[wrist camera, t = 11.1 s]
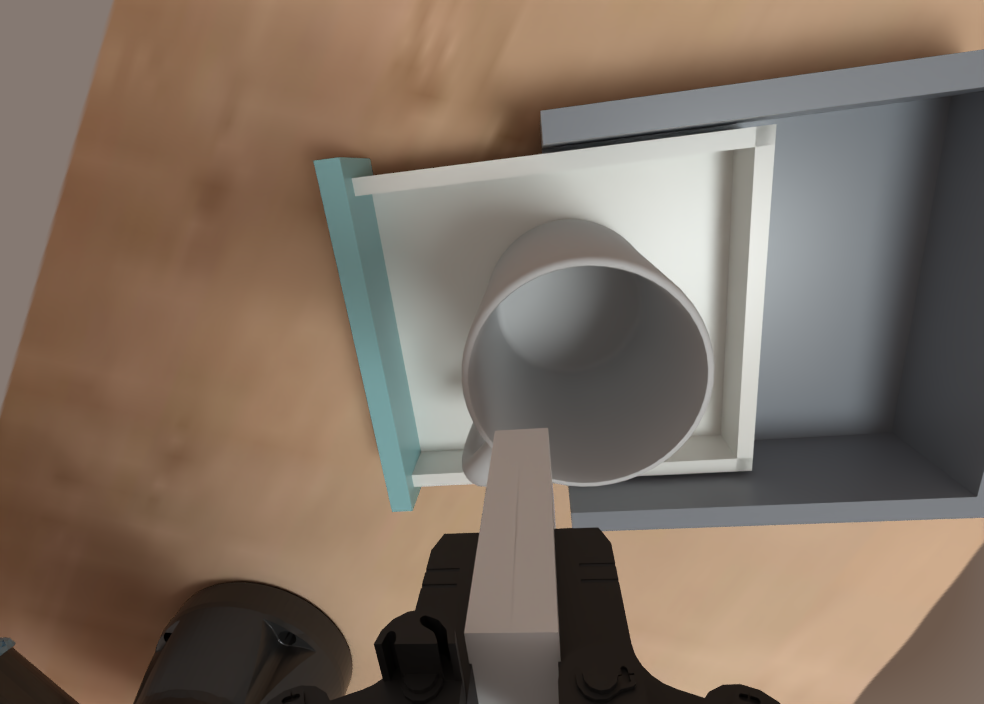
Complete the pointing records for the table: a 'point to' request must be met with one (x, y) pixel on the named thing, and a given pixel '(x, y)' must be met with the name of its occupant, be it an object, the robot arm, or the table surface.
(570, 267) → the mug
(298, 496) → the table surface
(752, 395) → the tray
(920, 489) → the dock
